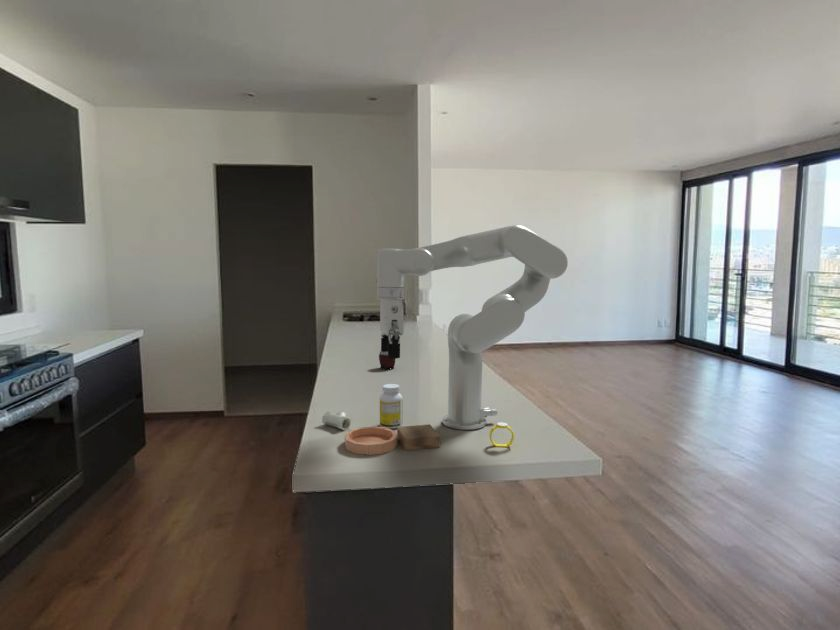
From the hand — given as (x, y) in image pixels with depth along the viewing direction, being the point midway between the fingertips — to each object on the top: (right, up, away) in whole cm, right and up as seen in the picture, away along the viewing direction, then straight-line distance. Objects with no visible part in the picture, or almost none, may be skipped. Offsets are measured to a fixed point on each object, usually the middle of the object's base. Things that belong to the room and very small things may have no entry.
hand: (390, 354), depth 141 cm
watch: (+29, -23, -12) cm, 39 cm away
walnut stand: (+8, -22, -10) cm, 25 cm away
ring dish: (-4, -22, -12) cm, 25 cm away
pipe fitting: (-14, -21, +2) cm, 25 cm away
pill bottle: (0, -21, +3) cm, 21 cm away
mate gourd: (-5, -12, +75) cm, 76 cm away
